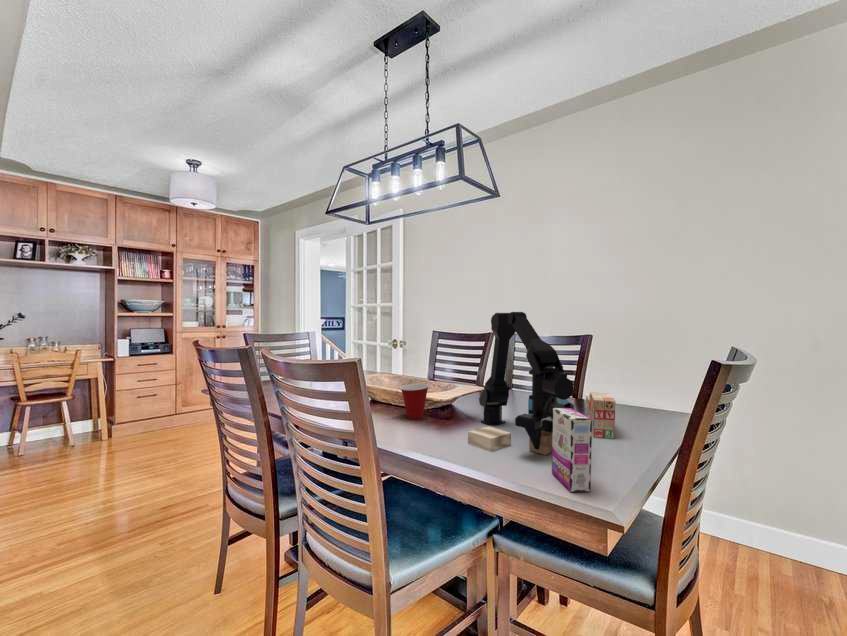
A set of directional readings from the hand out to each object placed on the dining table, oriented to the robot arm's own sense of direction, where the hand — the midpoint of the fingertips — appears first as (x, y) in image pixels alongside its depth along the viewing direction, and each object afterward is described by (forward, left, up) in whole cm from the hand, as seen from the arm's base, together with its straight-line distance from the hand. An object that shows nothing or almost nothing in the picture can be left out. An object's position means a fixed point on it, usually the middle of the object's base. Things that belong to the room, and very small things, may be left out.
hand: (541, 447), depth 120 cm
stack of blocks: (-34, +1, -2) cm, 34 cm away
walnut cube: (0, 0, -1) cm, 1 cm away
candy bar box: (+14, +16, -2) cm, 21 cm away
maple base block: (+6, -14, -2) cm, 15 cm away
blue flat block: (-17, -8, -2) cm, 19 cm away
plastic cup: (+2, -52, -2) cm, 52 cm away
